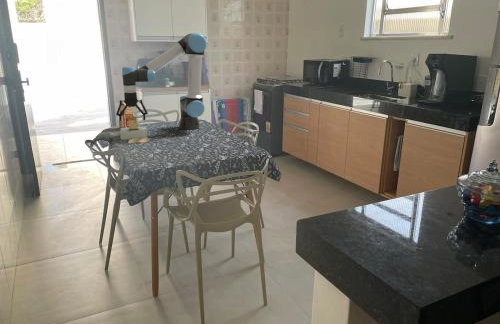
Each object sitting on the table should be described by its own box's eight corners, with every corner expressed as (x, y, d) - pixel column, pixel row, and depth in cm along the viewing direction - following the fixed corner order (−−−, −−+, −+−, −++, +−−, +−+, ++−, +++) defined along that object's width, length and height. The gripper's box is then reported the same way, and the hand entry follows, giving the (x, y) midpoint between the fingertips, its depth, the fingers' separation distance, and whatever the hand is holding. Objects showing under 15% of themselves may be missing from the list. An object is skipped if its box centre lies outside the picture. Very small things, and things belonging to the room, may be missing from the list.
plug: (138, 135, 251) (136, 116, 247) (138, 137, 247) (136, 117, 243) (130, 136, 250) (128, 116, 246) (130, 137, 246) (128, 118, 242)
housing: (146, 134, 256) (146, 126, 255) (146, 138, 245) (146, 130, 243) (121, 135, 252) (121, 128, 251) (120, 139, 241) (120, 132, 240)
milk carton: (126, 130, 265) (123, 102, 259) (118, 128, 271) (115, 100, 264) (137, 128, 272) (134, 100, 266) (129, 126, 277) (126, 99, 271)
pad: (148, 138, 244) (148, 137, 244) (148, 142, 235) (148, 141, 235) (128, 139, 241) (128, 138, 241) (128, 143, 232) (128, 142, 232)
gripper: (150, 90, 246) (152, 123, 253) (110, 91, 240) (113, 125, 247) (150, 92, 239) (152, 125, 246) (109, 93, 233) (112, 127, 240)
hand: (133, 125), depth 246 cm, fingers open, 12 cm apart
